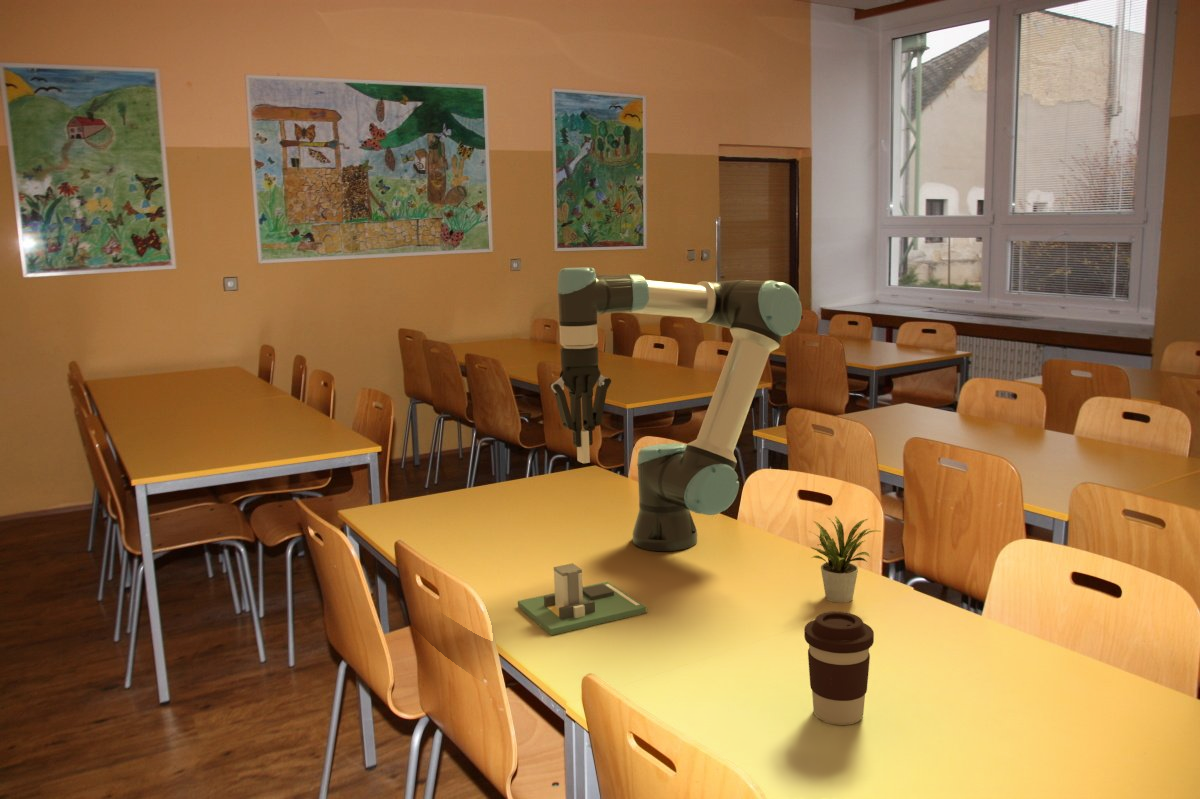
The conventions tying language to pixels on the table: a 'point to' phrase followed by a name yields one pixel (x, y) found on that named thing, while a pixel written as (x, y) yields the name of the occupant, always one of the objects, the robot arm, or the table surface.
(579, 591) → the plug
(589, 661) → the table surface
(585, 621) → the board
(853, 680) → the coffee cup
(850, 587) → the house plant
